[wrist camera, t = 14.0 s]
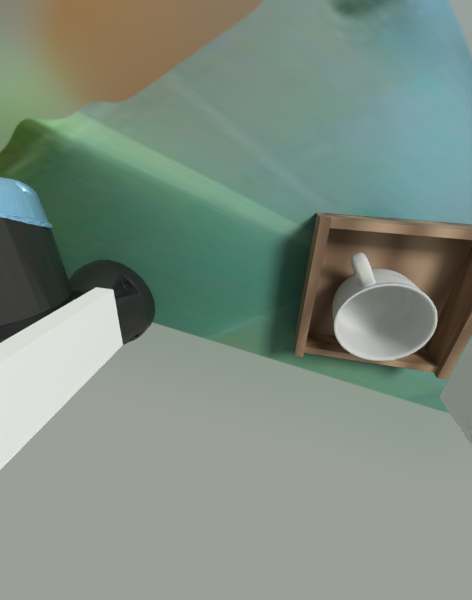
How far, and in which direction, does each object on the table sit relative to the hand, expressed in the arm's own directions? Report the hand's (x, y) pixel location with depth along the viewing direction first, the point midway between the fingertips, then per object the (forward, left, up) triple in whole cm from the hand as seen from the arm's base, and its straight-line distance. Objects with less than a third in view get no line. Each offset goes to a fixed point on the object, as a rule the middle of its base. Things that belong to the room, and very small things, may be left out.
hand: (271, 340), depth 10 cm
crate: (+14, -8, -29) cm, 33 cm away
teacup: (+12, -8, -28) cm, 32 cm away
